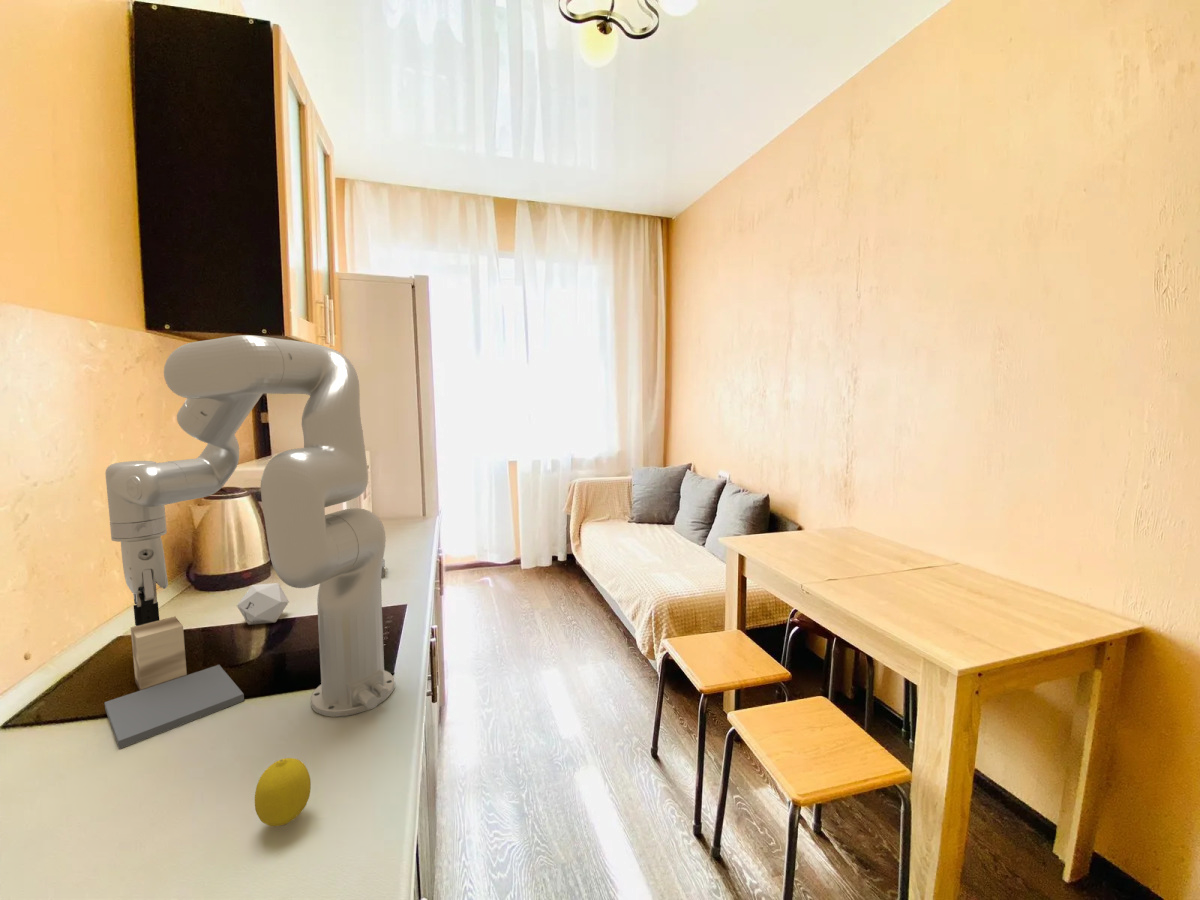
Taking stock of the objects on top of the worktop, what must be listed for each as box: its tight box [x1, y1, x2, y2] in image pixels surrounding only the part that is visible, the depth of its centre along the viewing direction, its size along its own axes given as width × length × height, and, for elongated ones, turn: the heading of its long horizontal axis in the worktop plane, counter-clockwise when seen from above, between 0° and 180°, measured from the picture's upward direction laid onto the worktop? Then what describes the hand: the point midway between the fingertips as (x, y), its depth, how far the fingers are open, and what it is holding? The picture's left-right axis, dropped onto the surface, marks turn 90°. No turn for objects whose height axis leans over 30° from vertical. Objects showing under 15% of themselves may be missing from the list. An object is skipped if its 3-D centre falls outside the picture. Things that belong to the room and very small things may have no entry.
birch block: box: [130, 615, 188, 691], centre depth 88 cm, size 6×6×10 cm
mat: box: [104, 664, 245, 750], centre depth 81 cm, size 14×15×1 cm
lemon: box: [254, 757, 311, 827], centre depth 58 cm, size 6×6×8 cm
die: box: [236, 582, 290, 626], centre depth 112 cm, size 8×9×10 cm
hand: (147, 624), depth 94 cm, fingers closed
